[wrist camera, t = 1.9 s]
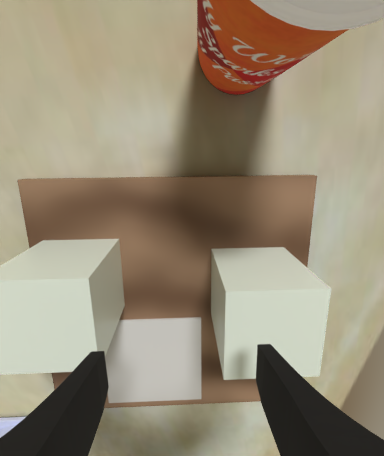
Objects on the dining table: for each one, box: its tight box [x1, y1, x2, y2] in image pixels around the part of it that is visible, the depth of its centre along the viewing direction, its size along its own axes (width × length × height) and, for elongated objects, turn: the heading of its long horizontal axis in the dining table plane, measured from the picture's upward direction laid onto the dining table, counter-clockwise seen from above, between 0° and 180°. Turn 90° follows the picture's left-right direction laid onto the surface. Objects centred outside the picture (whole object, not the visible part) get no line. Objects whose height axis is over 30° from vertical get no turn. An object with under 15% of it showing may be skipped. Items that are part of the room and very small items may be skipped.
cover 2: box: [211, 247, 331, 380], centre depth 18 cm, size 6×6×7 cm
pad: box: [105, 317, 201, 403], centre depth 23 cm, size 8×8×1 cm
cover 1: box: [0, 239, 125, 375], centre depth 18 cm, size 6×6×7 cm
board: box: [18, 175, 317, 408], centre depth 23 cm, size 21×22×1 cm
